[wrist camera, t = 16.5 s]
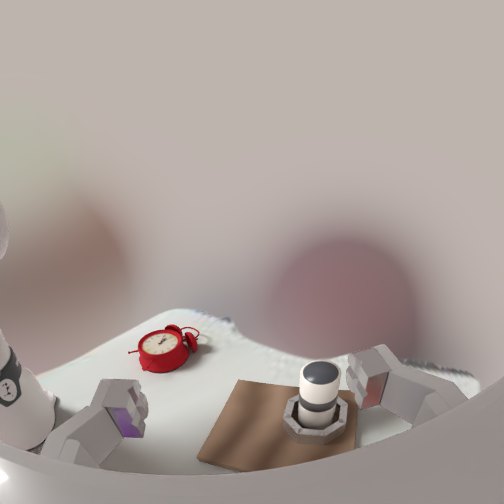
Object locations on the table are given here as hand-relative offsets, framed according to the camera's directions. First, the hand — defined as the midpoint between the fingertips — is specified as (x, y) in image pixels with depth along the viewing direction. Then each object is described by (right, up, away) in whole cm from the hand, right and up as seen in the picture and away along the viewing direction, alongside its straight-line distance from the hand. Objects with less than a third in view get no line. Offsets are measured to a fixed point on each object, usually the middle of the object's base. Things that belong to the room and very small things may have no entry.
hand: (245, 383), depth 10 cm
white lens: (+9, -19, +25) cm, 33 cm away
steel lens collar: (+9, -19, +25) cm, 33 cm away
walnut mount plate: (+5, -21, +25) cm, 33 cm away
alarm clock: (-17, -16, +46) cm, 51 cm away
